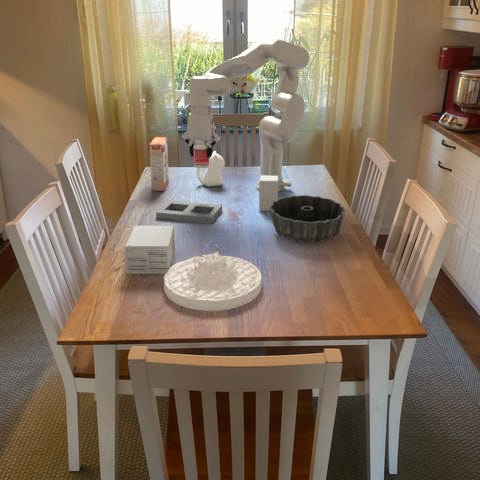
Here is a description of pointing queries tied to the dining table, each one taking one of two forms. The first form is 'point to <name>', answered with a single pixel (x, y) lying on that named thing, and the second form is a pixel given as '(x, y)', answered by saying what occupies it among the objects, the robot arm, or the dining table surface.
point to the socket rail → (189, 212)
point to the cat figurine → (212, 171)
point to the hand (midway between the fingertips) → (201, 156)
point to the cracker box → (159, 163)
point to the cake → (212, 282)
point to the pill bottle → (200, 154)
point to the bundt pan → (306, 218)
